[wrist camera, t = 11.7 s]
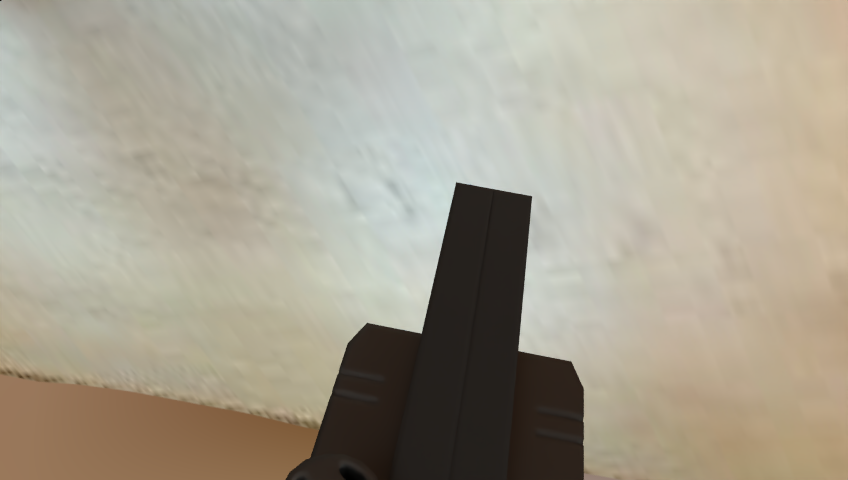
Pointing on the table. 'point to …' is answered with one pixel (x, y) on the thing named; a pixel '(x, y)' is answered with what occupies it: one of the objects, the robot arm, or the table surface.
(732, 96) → the table surface
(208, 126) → the table surface
